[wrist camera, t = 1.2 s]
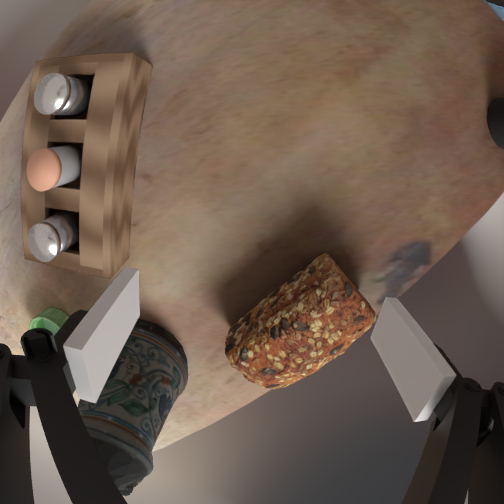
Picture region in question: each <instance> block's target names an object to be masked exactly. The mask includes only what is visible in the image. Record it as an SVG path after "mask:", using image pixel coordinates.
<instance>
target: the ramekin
mask: <svg viewBox="0 0 504 504" xmlns="http://www.w3.org/2000/svg"><path fill="white" fill-rule="evenodd" d="M68 318H69V316H68V315H67V314H66V313H65V312H63V311H61V310H59V309H57V308H48V309H46V310H45V311H43V312H42V313H41V314H40V315H39V316H37V317H35V318H33V319H32V321H31V322H30V326H29V330H30V329H33V328H45V329H48V330H49V331H51V332H52V334H53V336H54V335H55V334H56V333H57V332H58V330H59V329H60V328H61V327H62V326H63V324H64V323H66V321H67V319H68Z"/></svg>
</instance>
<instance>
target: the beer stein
mask: <svg viewBox="0 0 504 504" xmlns="http://www.w3.org/2000/svg"><path fill="white" fill-rule="evenodd" d="M187 380H188V367H187V358H186V355H185V353H184V350H183V347H182V346H181V344H180V343H179V342H178V341H177V340H176V338H175V337H174V336H173V335H172V334H171V333H169V332H167V331H166V330H164V329H163V328H161V327H160V326H158V325H157V324H154V323H151V322H147V321H144V320H140V319H138V320H137V322H136V323H135V325H134V327H133V329H132V331H131V333H130V335H129V337H128V339H127V341H126V343H125V345H124V346H123V348H122V350H121V352H120V354H119V356H118V358H117V360H116V362H115V364H114V366H113V368H112V370H111V372H110V375H109V377H108V379H107V381H106V383H105V385H104V387H103V389H102V391H101V393H100V395H99V398H98V400H97V402H96V403H92V402H89V401H85V400H82V399H80V401H79V404H78V407H77V408H78V410H79V413H80V415H81V417H82V420H83V422H84V424H85V426H86V429H87V431H88V433H89V435H90V437H91V439H92V441H93V443H94V446H95V448H96V450H97V452H98V453H99V455H100V457H101V459H102V461H103V463H104V465H105V467H106V469H107V470H108V472H109V474H110V476H111V478H112V479H113V481H114V483H115V484H116V486H117V488H118V489H119V491H120V493H121V494H122V495H125V496H127V495H130V493H132V491H133V488H134V487H136V485H138V483H140V482H141V481H142V480H143V478H144V477H146V476H147V475H149V474H150V473H151V471H152V470H153V457H152V454H151V452H152V449H153V447H154V445H155V443H156V440H157V438H158V436H159V434H160V431H161V429H162V427H163V425H164V423H165V420H166V418H167V416H168V414H169V412H170V410H171V408H172V406H173V404H174V402H175V401H176V399H177V398H178V396H179V395H180V394H181V393H182V392H183V391H184V389H185V387H186V384H187Z"/></svg>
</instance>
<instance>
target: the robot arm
mask: <svg viewBox="0 0 504 504" xmlns="http://www.w3.org/2000/svg"><path fill="white" fill-rule="evenodd" d="M483 1H485V2H486V3H487V4H488V5H489V6H490V7H491V8H492V9H493V11H494V12H495V13H496V14H497V15H498V17H499V18H501V19H502V20H503V21H504V0H483ZM139 316H140V304H139V269H134V268H127V267H124V269H123V270H122V271H121V272H120V273H119V275H118V276H117V277H116V278H115V279H114V281H113V282H112V283H111V284H110V285H109V287H108V288H107V289H106V290H105V292H104V293H103V294H102V295H101V296H100V298H99V299H98V300H97V301H96V303H95V304H94V305H93V306H92V308H91V309H90V310H89V312H88V311H84V310H79V311H77V312H75V313H74V314H72V315H71V316H70V317H69V318H68V319H67V321H66V323H64V324H63V326H62V327H61V328H60V329H59V330H58V332H57V333H56V334H55V335H54V336H53V334H52V332H51V331H49V330H48V329H45V328H33V329H30V330H28V331H27V332H25V333H24V334H23V336H22V337H21V345H22V348H23V351H24V354H25V356H23V355H12V353H11V351H10V349H9V347H8V346H7V345H5V344H1V343H0V504H34V498H33V489H32V479H31V466H30V441H29V420H30V418H29V417H30V406H37V409H38V412H39V416H40V420H41V423H42V427H43V430H44V432H45V436H46V439H47V442H48V445H49V448H50V451H51V454H52V456H53V459H54V462H55V464H56V467H57V469H58V472H59V474H60V476H61V479H62V481H63V484H64V486H65V488H66V490H67V493H68V495H69V497H70V499H71V501H72V503H73V504H127V502H126V501H125V499H124V498H123V496H122V494H121V493H120V491H119V489H118V488H117V486H116V484H115V483H114V481H113V479H112V478H111V476H110V474H109V472H108V470H107V469H106V467H105V465H104V463H103V461H102V459H101V457H100V455H99V453H98V452H97V450H96V448H95V446H94V443H93V441H92V439H91V437H90V435H89V433H88V431H87V429H86V426H85V424H84V422H83V420H82V417H81V415H80V413H79V410H78V408H77V405H76V403H75V400H74V398H73V393H74V391H75V389H76V392H77V395H78V398H79V399H82V400H85V401H89V402H92V403H96V402H97V400H98V398H99V395H100V393H101V391H102V389H103V387H104V385H105V383H106V381H107V379H108V377H109V375H110V372H111V370H112V368H113V366H114V364H115V362H116V360H117V358H118V356H119V354H120V352H121V350H122V348H123V346H124V345H125V343H126V341H127V339H128V337H129V335H130V333H131V331H132V329H133V327H134V325H135V323H136V322H137V320H138V318H139ZM371 340H372V342H373V344H374V346H375V347H376V349H377V351H378V353H379V355H380V357H381V358H382V360H383V362H384V364H385V366H386V368H387V370H388V372H389V373H390V375H391V377H392V379H393V381H394V383H395V385H396V387H397V389H398V391H399V393H400V395H401V397H402V398H403V401H404V402H405V405H406V407H407V408H408V411H409V413H410V414H411V417H412V419H413V421H414V422H417V421H423V420H427V419H428V418H429V416H430V415H431V413H432V412H433V411H434V412H435V414H436V418H435V419H434V420H433V421H432V423H431V424H430V425H429V427H428V428H427V430H426V431H425V433H427V432H428V431H429V430H430V432H429V435H428V438H427V441H426V444H425V447H424V449H423V452H422V455H421V457H420V460H419V463H418V465H417V468H416V470H415V473H414V475H413V478H412V480H411V482H410V485H409V487H408V489H407V491H406V493H405V496H404V498H403V500H402V502H401V504H464V502H465V499H466V495H467V491H468V504H504V383H502V382H496V383H494V385H493V386H492V388H491V389H490V390H485V389H482V388H481V386H480V384H478V383H477V382H476V381H475V380H473V379H471V378H463V377H462V376H461V374H460V373H459V372H458V370H457V369H456V368H455V366H454V365H453V364H452V363H451V362H450V360H449V358H448V357H446V355H445V353H444V352H443V350H442V349H441V348H440V347H438V346H437V345H436V344H434V343H432V342H431V340H430V339H429V338H428V336H427V335H426V334H425V333H424V331H423V330H422V329H421V327H420V326H419V325H418V324H417V322H416V321H415V320H414V319H413V317H412V316H411V315H410V314H409V312H408V311H407V310H406V309H405V308H404V306H403V305H402V304H401V303H400V302H399V300H398V299H397V298H388V297H385V300H384V303H383V306H382V309H381V311H380V314H379V317H378V320H377V322H376V325H375V328H374V330H373V333H372V335H371ZM493 423H494V425H493V429H492V431H491V430H490V426H491V425H492V424H493Z"/></svg>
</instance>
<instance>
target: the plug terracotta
mask: <svg viewBox="0 0 504 504" xmlns="http://www.w3.org/2000/svg"><path fill="white" fill-rule="evenodd" d="M82 155H83V151H82V149H81V148H79V147H78V146H75V145H69V146H61V147H53V148H46V149H40V150H37V151H35V152H34V153H33V154H32V155H31V156H30V158H29V160H28V163H27V178H28V181H29V183H30V185H31V186H32V187H33V188H34V189H35V190H37V191H46V190H49V189H51V188H54V187H57V186H60V185H63V184H66V183H69V182H72V181H75V180H77V179H79V178H80V177H81V167H82Z"/></svg>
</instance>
